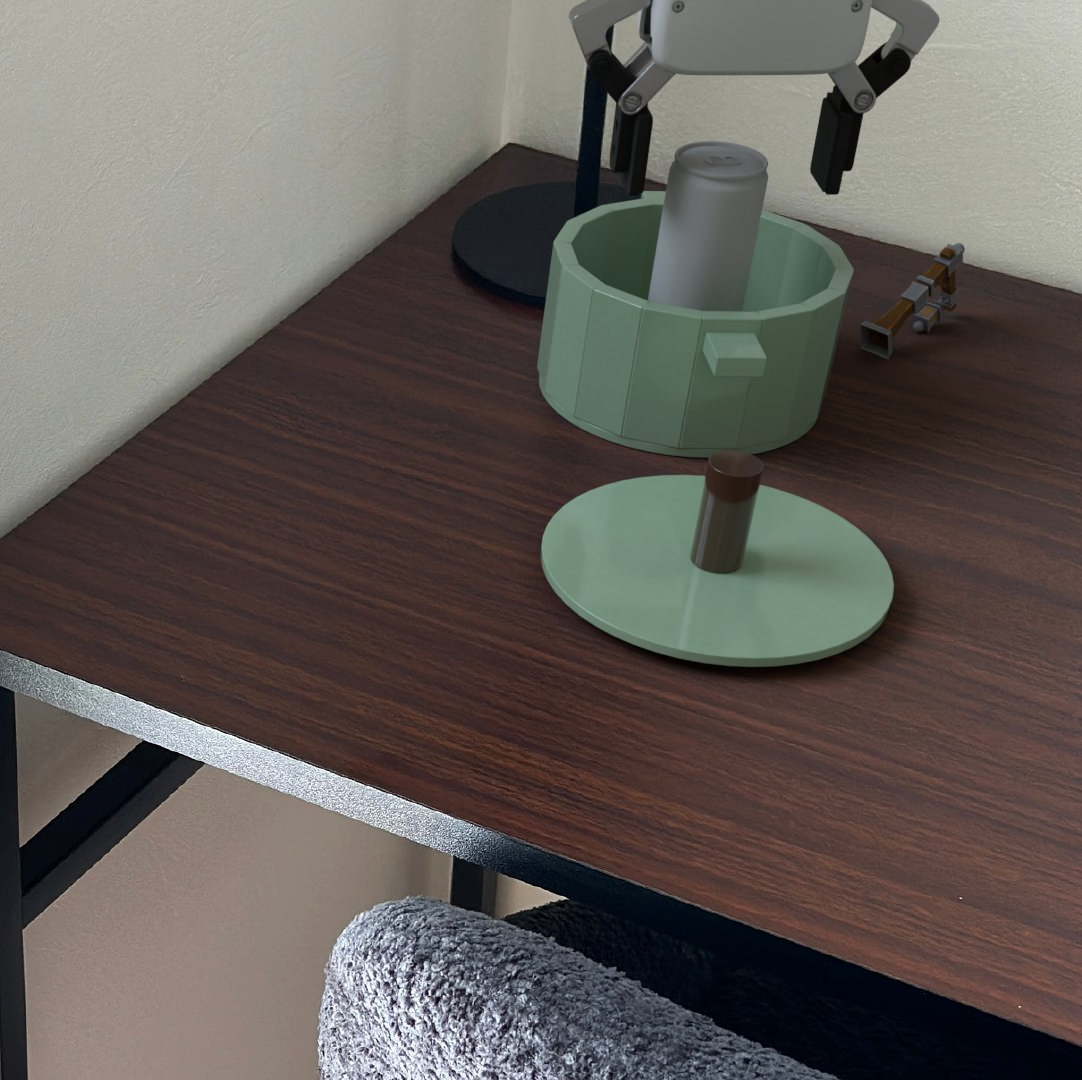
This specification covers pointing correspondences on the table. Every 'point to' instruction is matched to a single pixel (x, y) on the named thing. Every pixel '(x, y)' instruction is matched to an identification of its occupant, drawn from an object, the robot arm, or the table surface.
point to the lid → (717, 568)
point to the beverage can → (709, 226)
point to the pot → (689, 338)
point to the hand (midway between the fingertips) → (726, 185)
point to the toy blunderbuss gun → (917, 303)
